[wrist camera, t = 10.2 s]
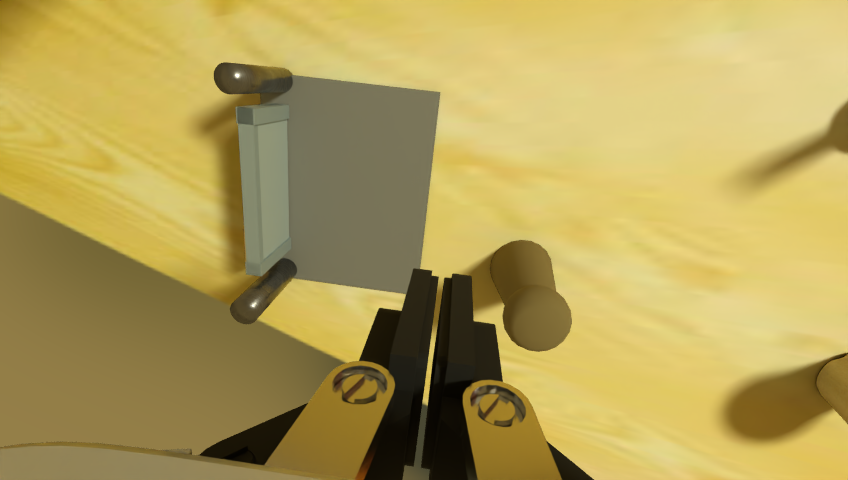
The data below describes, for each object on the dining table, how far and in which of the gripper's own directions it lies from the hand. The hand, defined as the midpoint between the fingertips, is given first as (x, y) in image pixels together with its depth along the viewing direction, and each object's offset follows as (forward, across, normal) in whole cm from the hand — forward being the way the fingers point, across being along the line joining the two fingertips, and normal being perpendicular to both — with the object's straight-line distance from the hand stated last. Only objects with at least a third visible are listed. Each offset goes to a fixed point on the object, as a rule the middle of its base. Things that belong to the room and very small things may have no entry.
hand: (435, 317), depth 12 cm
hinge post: (+27, +16, -5) cm, 32 cm away
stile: (+27, +17, +12) cm, 34 cm away
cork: (+27, -8, +10) cm, 30 cm away
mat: (+27, +10, +4) cm, 29 cm away
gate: (+27, +16, +4) cm, 31 cm away
